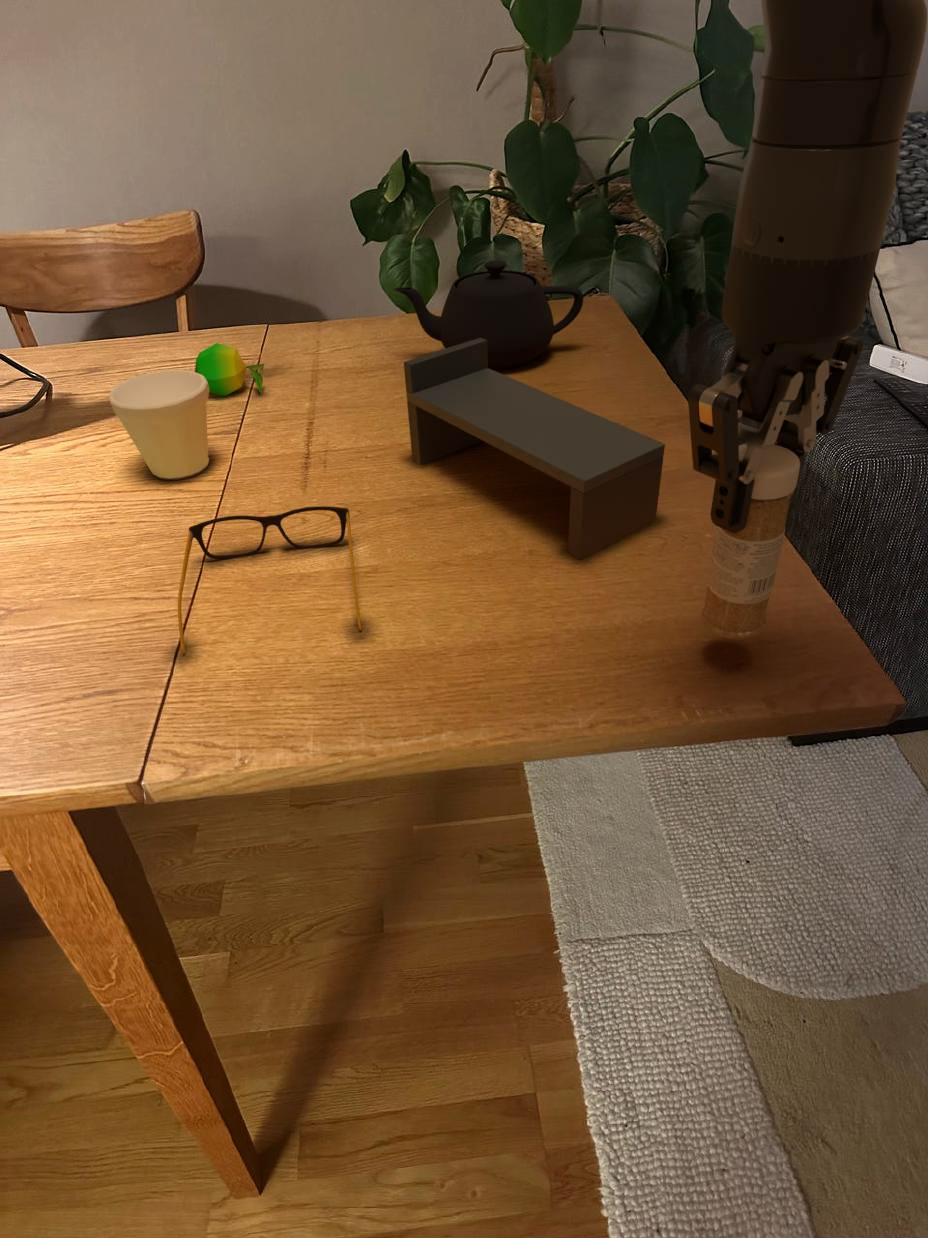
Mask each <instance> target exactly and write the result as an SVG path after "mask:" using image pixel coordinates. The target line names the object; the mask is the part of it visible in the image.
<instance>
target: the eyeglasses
mask: <svg viewBox="0 0 928 1238" xmlns="http://www.w3.org/2000/svg"><path fill="white" fill-rule="evenodd" d="M313 511H330V512H334V513H335V514H336V515H337V517H338V518H339V522H340V536H339V538H338V539H337V540H334V541H330V542H325V543H319V544H309V545H306V544H305V545H304V544H297V543H295V542H293V541H292V540H291V539H290V537H288V535H287V533H286V532H285V530H284V529H283V527H282V520H284V519H285V518H287V517H289V516H292V515H295V514H300V513H305V512H313ZM350 517H351V516H350V510H349V508H347V507H341V506H340V507H339V506H327V505H326V506H325V505H324V506H323V505H322V506H306V507H300V508H295V509H292V510H289V511H286V512H283V513H279V514H275V515H267V516H257V515H256V516H255V515H230V516H222V517H217V518H213V519H210V520H206V521H203V522H200V523H197V524H193V525H191V526H189V527H188V533H187V539H186V544H185V551H184V557H183V563H182V570H181V575H180V580H179V581H180V582H179V588H178V594H177V596H178V597H177V619H178V631H179V641H180V642H179V643H180V651H181V653H182V654H186V644H185V637H184V626H183V617H182V616H183V615H182V614H183V613H182V601H183V592H184V587H185V581H186V575H187V570H188V564H189V560H190V554H191V551H192V545H193V540H194V539H195V540H196V542H197V543H198V544H199V547H200V548H201V550H202V552H203V553H204V554H205V555H206V557H208V558H210V559H213V560H226V559H236V558H237V559H238V558H244V557H249V556H252V555H256V554H258V553H259V552H260V551H261V550H262V548H263V545H264V542H265V538H266V534H267V530H268V527H270V526H276V527H277V529H278V530H279V532H280V534H281V535H282V537H283V538H284V539H285V541H286V542H287V543H288V544H289V545H290V546H292V547H293V548H296V549H301V550H309V549H319V548H325V547H331V546H336V545H339V544H341V542H342V541H343V540H344V538H345V534H346V529H347V535H348V545H349V557H350V568H351V577H352V588H353V596H354V604H355V610H356V611H355V612H356V619H357V627H358V630H359V631H362V622H361V621H362V620H361V615H360V608H359V607H360V606H359V599H358V598H359V597H358V590H357V581H356V573H355V562H354V552H353V551H354V550H353V541H352V531H351V520H350ZM239 520H244V521H245V520H246V521H252V522H253V521H254V522H258V523H260V524H261V525H262V537H261V541H260V544H259V546H258V547H257V548H256V549H254V550H251V551H248V552H243V553H236V554H235V553H234V554H224V555H223V554H222V555H217V554H213V553H211V552H209V550H208V549H207V547H206V545H205V543H204V539H203V531H204V529H205V528H206V527H207V526H210V525H212V524H217V523H220V522H221V523H222V522H227V521H239ZM346 527H347V528H346Z"/></svg>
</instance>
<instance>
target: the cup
mask: <svg viewBox="0 0 928 1238" xmlns="http://www.w3.org/2000/svg"><path fill="white" fill-rule="evenodd" d="M209 395H210V392H209V386H208V382H207V380H206V379H205V377H204V376H203V375H201V374H198V373H196V372H195V371H193V370H185V369H167V370H156V371H152V372H147V373H142V374H138V375H136V376H133V377H130V378H128V379H125V380H122V381H121V382H119V384H117V385H115V386H113V388H112V389H111V391H110V393H108V396H107V397H108V399H109V402H110V405H111V408H112V411H113V413H114V414H115V415H116V416H117V418H118V419H119V421H120V422H121V425H122V426H123V428H124V429H125V431H126V432H127V435H129V437H130V439H131V440H132V442H133V444H134V446H135V447H136V449H137V450H138V452H139V454H140V455H141V457H142V459H143V461H144V462H145V463H146V466H147V467H148V469H149V471H151V474H152V475H153V476H154V477H156V478H158V479H160V480H165V481H181V480H186V479H190V478H193V477H195V476H197V475H199V474H201V473H203V472H204V471H205V470H206V469H207V468H208V466H209V463H210V458H209V448H208V447H209V445H208V444H209V443H208V414H207V413H208V411H207V408H208V407H207V404H208V400H209Z"/></svg>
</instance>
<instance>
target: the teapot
mask: <svg viewBox="0 0 928 1238" xmlns="http://www.w3.org/2000/svg"><path fill="white" fill-rule="evenodd" d="M506 267H507V263H506V262H505V261H504V260H499V259H496V260H489V261H486V262H484V268H485V269H486V270H483V271H478V272H472V273H469V274H465V275H462V276H460V277H458V278H457V279H455V280H454V281H453V282H452V284H451V287H450V289H449V292H448V294H447V297H446V299H445V302H444V304H443V308H442V311H441V315H440V316H439V315H435V314H433V313H431V311H429V309H428V308H427V306H426V304H425V301H424V298H423V296H422V295H421V293H420V292H419V291H418V289H415V288H414V287H408V286H407V287H405V286H404V287H402V286H401V287H394V288H393V290H394V291H395V292H398V293H401V294H403V295H404V296H405V297H406V298H408V299H409V301H410V303H411V304H412V306H413V309H414V311H415V313H416V316H417V319H418V322H419V325H420V326H421V329H422V330H423V331H424V333H426V335H428V336H429V337H430V338H431V339H434V340H435V341H438V342H441V344H442V346H443V348H444V349H446V348H449V347H452V346H456V345H459V344H462V343H465V342H468V341H471V340H474V339H478V338H482V339H485V340H487V357H488V368H489V369H491V370H495V369H497V370H498V369H507V368H508V369H509V368H514V367H518V366H522V365H525V364H528V363H530V362H532V361H534V360H535V359H537V357H538V355H540V354H541V353H542V352H544V351H545V349H546V348H547V347H548V346H549V345H550V343H551V342H552V340H553V337H554V335H556V334H558V333H559V332H561V331H562V330H564V329H565V328H567V327H568V326H569V325H570V324H571V323H572V322H573V321H574V320H575V319H576V318H577V317H578V315H579V313H580V312H581V310H582V308H583V305H584V293H583V291H582V290H581V289H579V288H578V287H576V286H571V285H549V286H546V285H545V286H542V284H541V282H540V280H539V279H538V277H536V276H534V275H533V274H530V273H526V272H523V271H517V270H504V269H506ZM546 295H569V296H573V298H574V299H573V304H572V306H571V308H570V309H569V311H568V313H567V314H566V315H565V317H563V318H562V319H561V320H560V321H559V322H557V323H555V321H554V317H553V313H552V309H551V306H550V304H549V301H548V299H547V296H546Z"/></svg>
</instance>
